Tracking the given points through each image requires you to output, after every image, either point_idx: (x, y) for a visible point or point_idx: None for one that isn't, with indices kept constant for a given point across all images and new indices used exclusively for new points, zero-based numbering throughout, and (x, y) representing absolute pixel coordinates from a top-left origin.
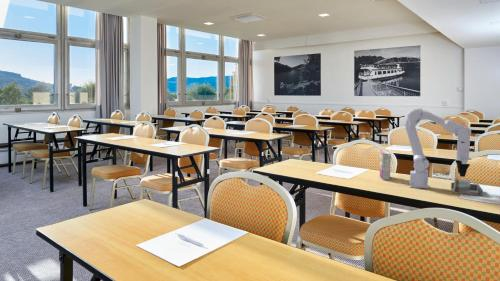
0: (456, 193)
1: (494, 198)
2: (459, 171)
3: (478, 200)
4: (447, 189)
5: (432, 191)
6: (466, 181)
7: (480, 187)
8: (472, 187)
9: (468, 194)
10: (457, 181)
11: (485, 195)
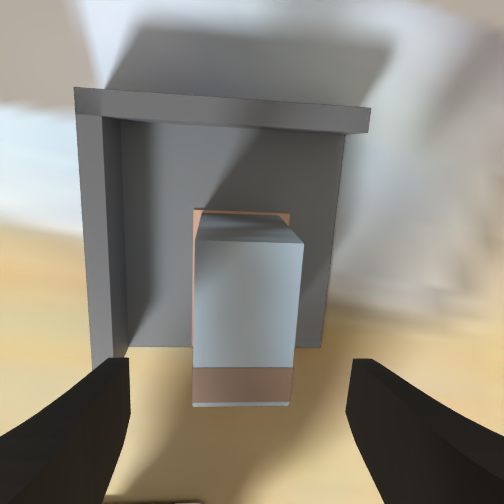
0: (321, 326)
1: (397, 5)
2: (390, 491)
3: (487, 181)
4: (165, 373)
5: (275, 476)
6: (299, 289)
7: (251, 103)
8: (114, 162)
9: (332, 234)
10: (289, 379)
11: (297, 69)
